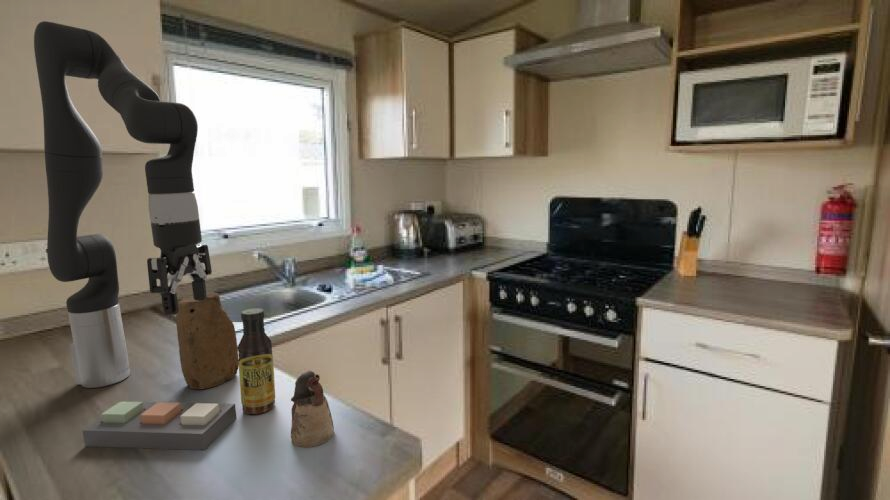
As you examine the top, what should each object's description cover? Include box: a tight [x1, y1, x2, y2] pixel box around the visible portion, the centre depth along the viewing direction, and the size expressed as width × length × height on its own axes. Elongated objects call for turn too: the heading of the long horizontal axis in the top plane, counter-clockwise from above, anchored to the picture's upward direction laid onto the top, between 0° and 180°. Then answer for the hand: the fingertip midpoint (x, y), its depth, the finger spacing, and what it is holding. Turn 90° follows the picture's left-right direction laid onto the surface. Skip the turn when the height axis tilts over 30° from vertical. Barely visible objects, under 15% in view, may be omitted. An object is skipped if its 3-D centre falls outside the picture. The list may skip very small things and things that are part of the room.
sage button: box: [100, 401, 144, 423], centre depth 85 cm, size 4×4×2 cm
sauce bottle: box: [237, 307, 276, 415], centre depth 90 cm, size 6×6×20 cm
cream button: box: [180, 402, 220, 425], centre depth 83 cm, size 4×4×2 cm
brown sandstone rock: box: [175, 291, 239, 390], centre depth 103 cm, size 11×8×20 cm
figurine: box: [290, 370, 335, 448], centre depth 81 cm, size 7×7×12 cm
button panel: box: [82, 400, 237, 451], centre depth 84 cm, size 22×10×3 cm, turn 84°
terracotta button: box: [141, 401, 182, 424], centre depth 84 cm, size 4×4×2 cm
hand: (186, 306), depth 85 cm, fingers open, 8 cm apart
